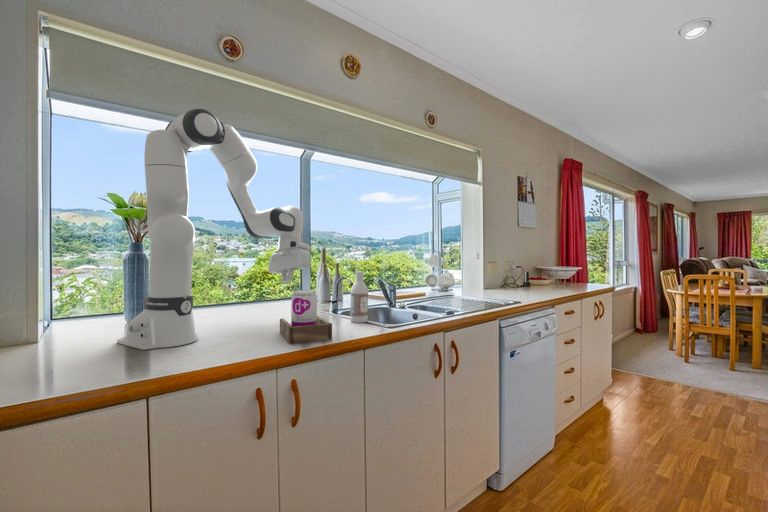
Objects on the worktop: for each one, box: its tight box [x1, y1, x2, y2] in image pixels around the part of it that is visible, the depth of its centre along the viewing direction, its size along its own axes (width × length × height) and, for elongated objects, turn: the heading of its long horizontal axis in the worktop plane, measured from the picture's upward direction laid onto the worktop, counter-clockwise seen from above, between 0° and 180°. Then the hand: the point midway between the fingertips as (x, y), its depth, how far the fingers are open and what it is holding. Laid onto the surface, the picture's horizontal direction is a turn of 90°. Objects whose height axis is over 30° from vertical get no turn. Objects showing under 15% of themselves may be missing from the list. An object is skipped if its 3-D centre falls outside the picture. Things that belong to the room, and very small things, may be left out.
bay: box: [279, 315, 333, 345], centre depth 121 cm, size 15×13×5 cm
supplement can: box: [290, 289, 318, 327], centre depth 121 cm, size 8×8×15 cm
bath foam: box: [349, 270, 369, 324], centre depth 147 cm, size 7×7×20 cm
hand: (286, 282), depth 140 cm, fingers closed
